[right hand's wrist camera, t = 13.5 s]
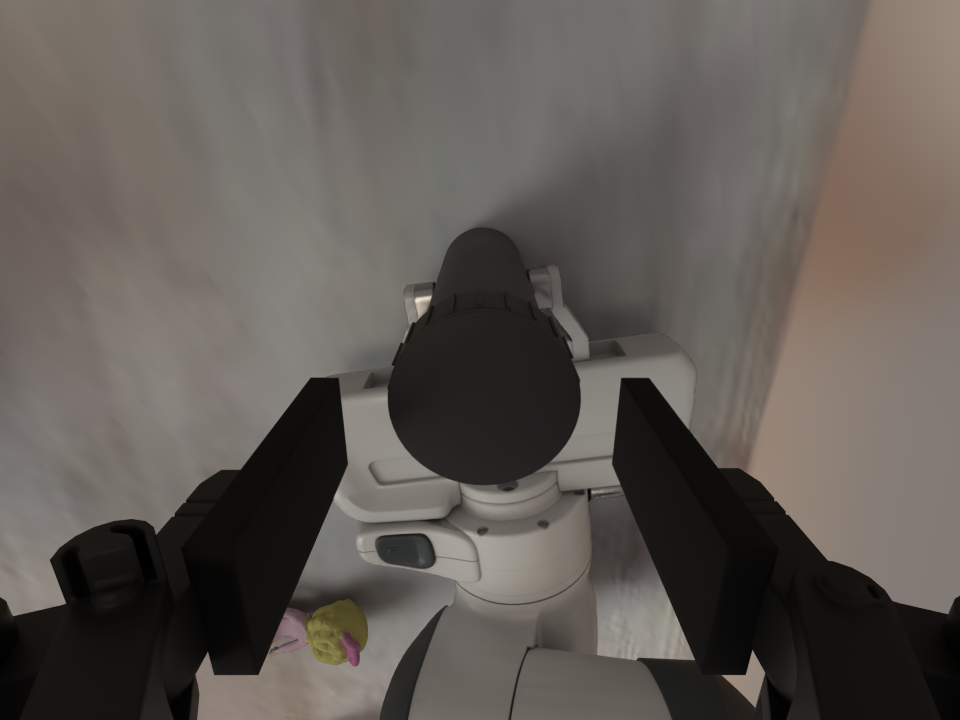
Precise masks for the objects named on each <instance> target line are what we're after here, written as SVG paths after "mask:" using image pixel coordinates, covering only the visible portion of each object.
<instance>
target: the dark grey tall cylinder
mask: <svg viewBox="0 0 960 720" xmlns="http://www.w3.org/2000/svg"><path fill="white" fill-rule="evenodd" d="M478 289H482V291H494V292H500V293H505V291H506V292H508V293H509V295H512V296H515V297H518V298H520V299H522V300H525V301H527V302H529V301H531V302H533V305H534V306H535V307H536V308H538V309H539V307H538V304H537V301H536V298H535V296H534V293H533V290H532V287H531V285H530V282H529V279H528V276H527V273H526V271H525V268H524V265H523V262H522V260H521V257H520V254H519V251H518V249H517V247H516V246H515V244H514V243H513V242H512V241H511V239H510V238H508V237H507V236H506V235H504V234H503V233H501V232H499V231H497V230H494V229H490V228H476V229H472V230H469V231H466V232H464V233H463V234H461V235H460V236H458V237H457V238H456V239H455V240H454V241H453V242H452V244H451V245H450V247H449V248H448V251H447V253H446V256H445V259H444V262H443V265H442V268H441V271H440V274H439V277H438V279H437V282H436V285H435V288H434V291H433V294H432V297H431V300H430V303H429V306H430V305H433V306H435V305H436V304H438V303H440V302H442V301H444V300H446V299H447V298H450V297H452V294H455V293H456V295H459V294H463V293H468V292H475V291H478ZM429 306H428V309H429ZM428 309H427V311H428ZM539 310H540V309H539Z"/></svg>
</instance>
